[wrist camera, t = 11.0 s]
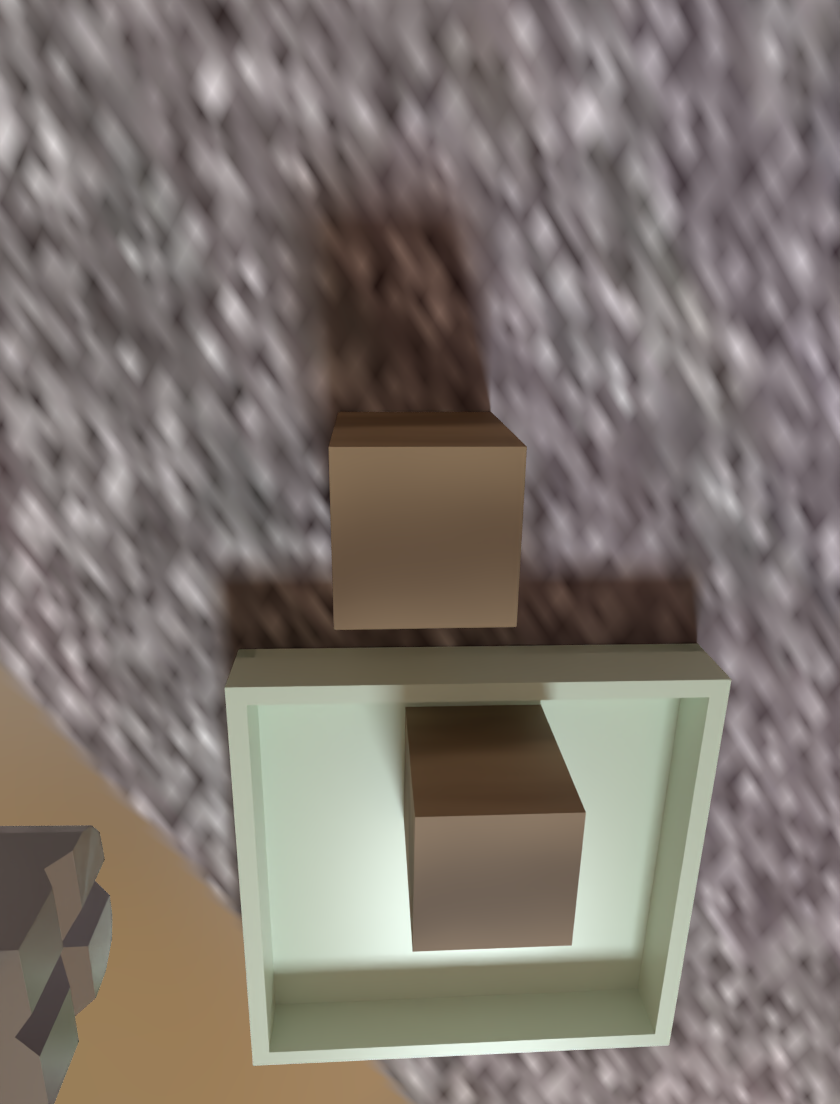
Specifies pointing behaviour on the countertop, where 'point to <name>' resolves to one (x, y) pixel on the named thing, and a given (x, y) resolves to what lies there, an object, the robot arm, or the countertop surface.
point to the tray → (380, 853)
